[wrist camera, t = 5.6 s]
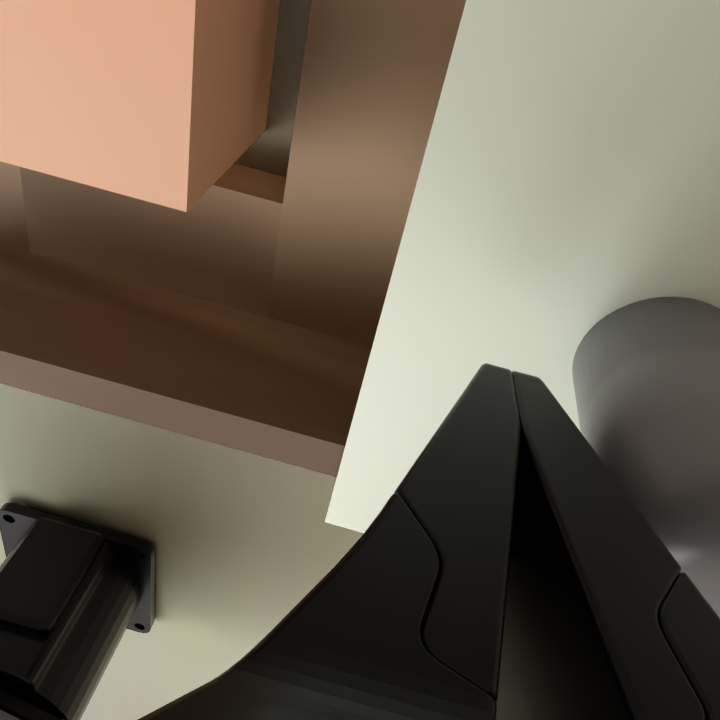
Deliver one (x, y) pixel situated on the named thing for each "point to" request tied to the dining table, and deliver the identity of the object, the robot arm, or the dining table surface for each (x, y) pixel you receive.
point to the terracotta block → (135, 91)
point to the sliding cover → (566, 255)
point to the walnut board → (238, 257)
